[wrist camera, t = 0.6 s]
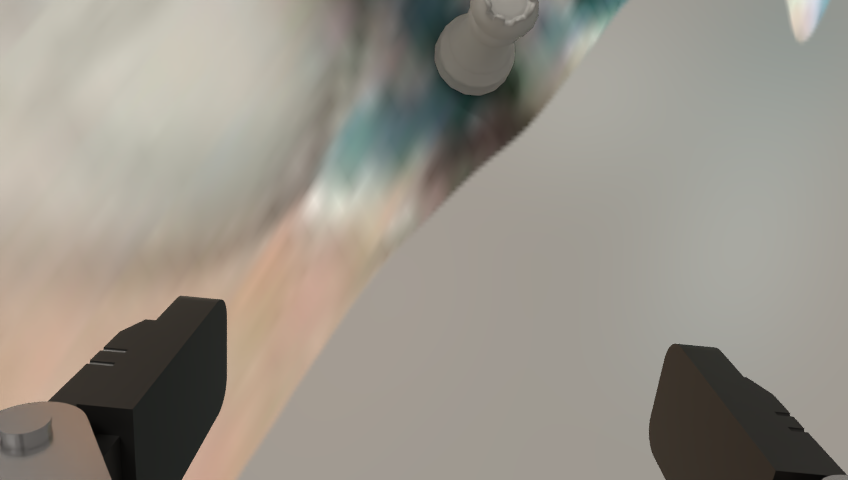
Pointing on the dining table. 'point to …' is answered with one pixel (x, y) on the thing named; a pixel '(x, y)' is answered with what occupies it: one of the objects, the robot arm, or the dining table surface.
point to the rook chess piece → (483, 44)
